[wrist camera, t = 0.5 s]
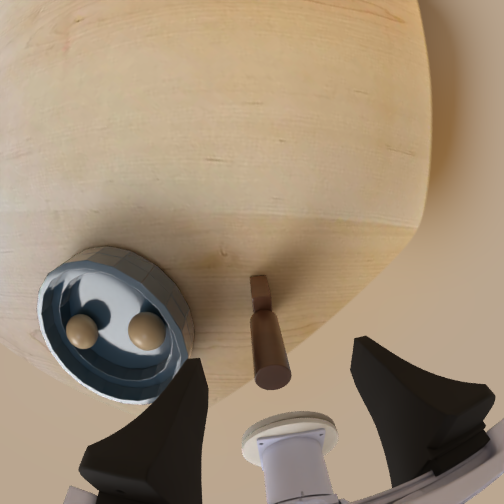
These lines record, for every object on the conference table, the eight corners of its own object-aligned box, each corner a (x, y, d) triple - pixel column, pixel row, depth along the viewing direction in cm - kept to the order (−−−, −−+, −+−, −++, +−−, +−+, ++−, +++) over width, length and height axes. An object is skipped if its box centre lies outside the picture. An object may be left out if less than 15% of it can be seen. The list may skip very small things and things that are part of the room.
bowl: (208, 375, 23) (204, 406, 19) (90, 372, 23) (75, 396, 19) (177, 234, 19) (162, 250, 15) (44, 254, 19) (17, 269, 15)
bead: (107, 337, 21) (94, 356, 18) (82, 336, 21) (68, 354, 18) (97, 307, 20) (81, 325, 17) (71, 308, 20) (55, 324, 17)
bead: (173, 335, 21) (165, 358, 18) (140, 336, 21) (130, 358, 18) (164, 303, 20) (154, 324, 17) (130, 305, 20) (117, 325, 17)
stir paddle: (273, 315, 21) (291, 398, 13) (250, 318, 21) (257, 403, 13) (269, 274, 20) (290, 347, 12) (245, 277, 20) (250, 352, 12)
